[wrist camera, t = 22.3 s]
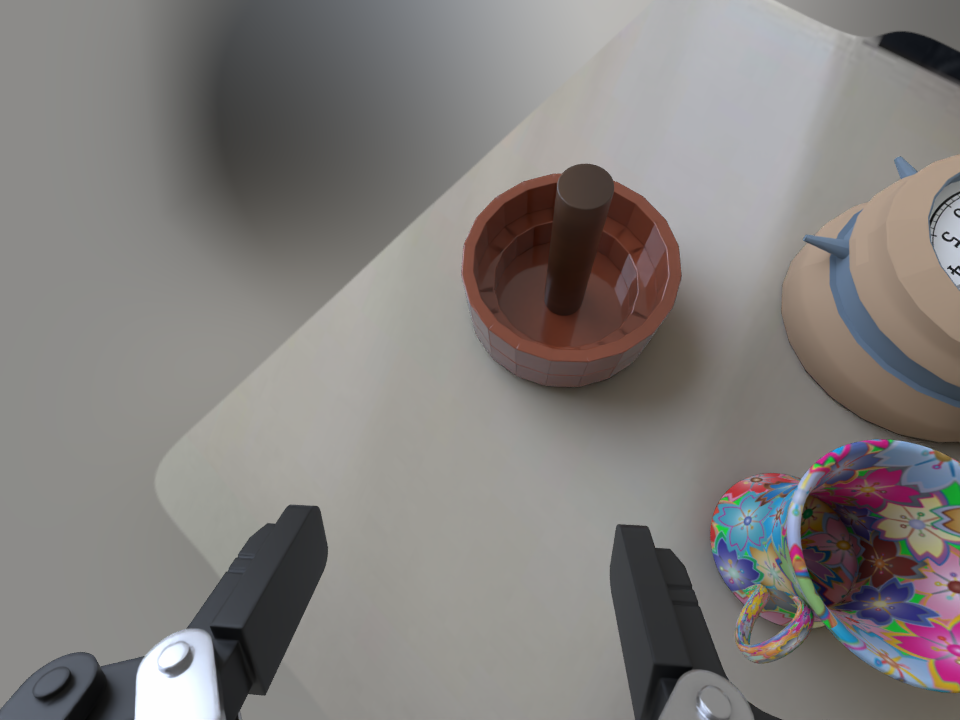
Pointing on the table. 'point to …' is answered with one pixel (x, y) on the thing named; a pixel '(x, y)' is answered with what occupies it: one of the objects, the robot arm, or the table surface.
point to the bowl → (608, 297)
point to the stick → (576, 234)
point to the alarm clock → (886, 304)
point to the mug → (851, 558)
